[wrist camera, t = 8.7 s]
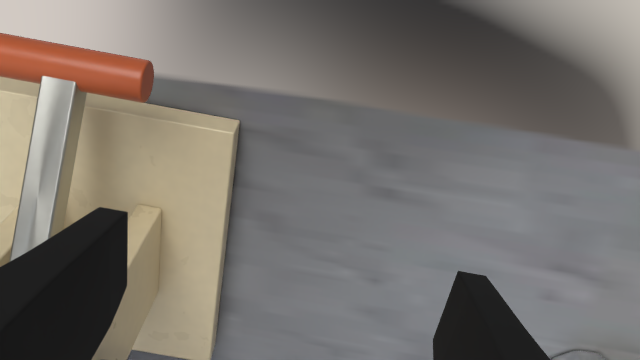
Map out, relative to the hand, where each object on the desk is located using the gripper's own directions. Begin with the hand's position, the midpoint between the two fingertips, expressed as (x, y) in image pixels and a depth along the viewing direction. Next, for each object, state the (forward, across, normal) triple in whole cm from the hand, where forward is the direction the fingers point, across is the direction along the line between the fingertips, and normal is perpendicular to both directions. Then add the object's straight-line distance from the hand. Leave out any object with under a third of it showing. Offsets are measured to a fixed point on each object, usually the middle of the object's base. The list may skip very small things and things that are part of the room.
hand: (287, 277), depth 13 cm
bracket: (+10, +8, +7) cm, 15 cm away
